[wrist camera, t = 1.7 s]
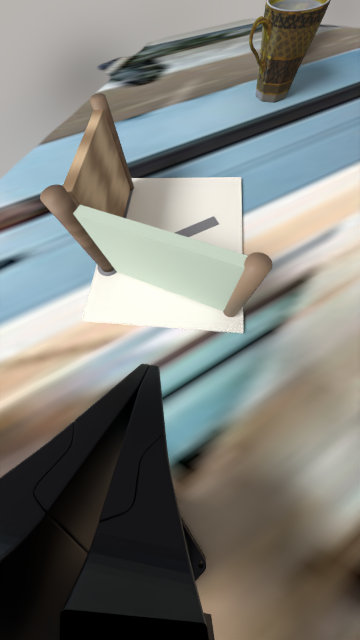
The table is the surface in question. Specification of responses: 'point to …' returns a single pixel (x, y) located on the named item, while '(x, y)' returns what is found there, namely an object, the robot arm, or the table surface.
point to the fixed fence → (93, 180)
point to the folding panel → (176, 261)
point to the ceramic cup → (284, 43)
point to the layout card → (184, 219)
